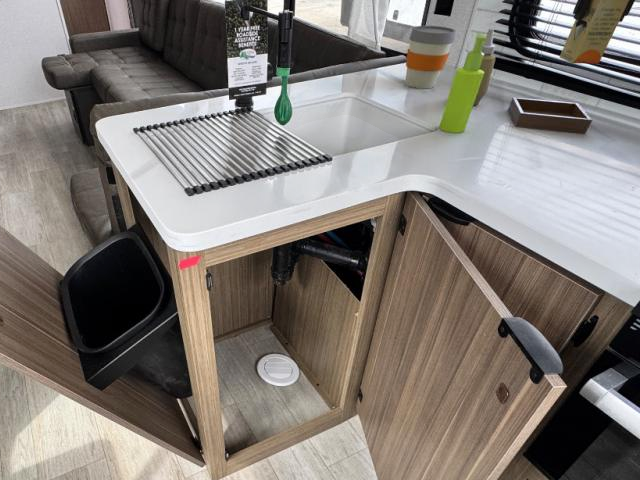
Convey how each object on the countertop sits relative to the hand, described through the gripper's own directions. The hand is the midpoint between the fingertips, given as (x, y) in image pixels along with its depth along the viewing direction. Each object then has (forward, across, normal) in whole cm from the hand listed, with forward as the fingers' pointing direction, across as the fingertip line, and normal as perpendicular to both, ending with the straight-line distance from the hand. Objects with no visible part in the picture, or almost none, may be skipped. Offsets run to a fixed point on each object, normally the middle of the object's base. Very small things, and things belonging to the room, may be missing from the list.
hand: (597, 18), depth 81 cm
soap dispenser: (+25, -18, +9) cm, 32 cm away
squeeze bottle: (+25, -12, +32) cm, 43 cm away
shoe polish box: (+7, 0, 0) cm, 7 cm away
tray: (+25, +6, +22) cm, 34 cm away
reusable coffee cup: (+25, -25, +48) cm, 59 cm away
